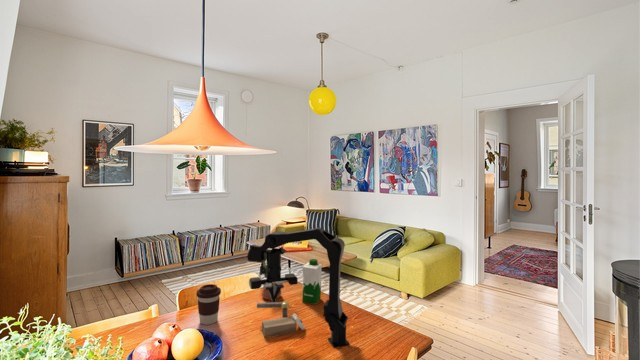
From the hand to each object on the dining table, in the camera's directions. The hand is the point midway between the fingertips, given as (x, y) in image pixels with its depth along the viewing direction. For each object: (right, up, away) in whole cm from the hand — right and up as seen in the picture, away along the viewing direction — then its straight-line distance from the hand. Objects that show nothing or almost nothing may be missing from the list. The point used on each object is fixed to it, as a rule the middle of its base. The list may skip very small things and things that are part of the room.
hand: (273, 302), depth 131 cm
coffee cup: (-29, -12, +9) cm, 33 cm away
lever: (-1, -6, +10) cm, 12 cm away
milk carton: (+15, -12, +32) cm, 37 cm away
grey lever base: (+1, -12, +4) cm, 13 cm away
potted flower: (-5, -11, +37) cm, 39 cm away
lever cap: (+9, -10, +4) cm, 14 cm away
